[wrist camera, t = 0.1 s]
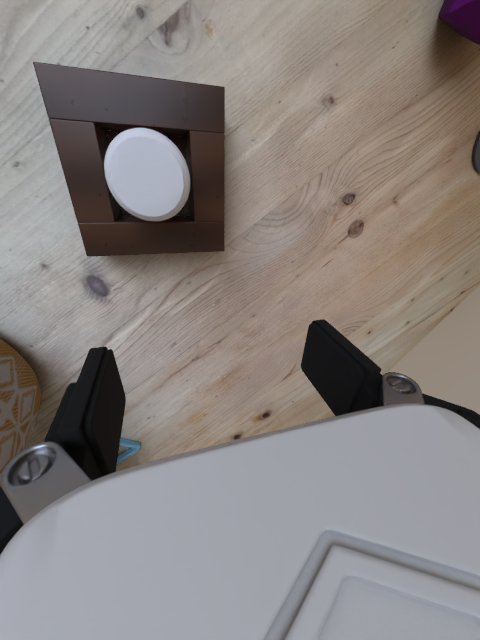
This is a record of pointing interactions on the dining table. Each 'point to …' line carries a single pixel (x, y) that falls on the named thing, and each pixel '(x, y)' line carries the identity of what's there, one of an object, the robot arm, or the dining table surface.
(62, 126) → the holder
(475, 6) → the perfume bottle
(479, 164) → the coaster
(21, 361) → the planter
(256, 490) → the robot arm
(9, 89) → the dining table surface
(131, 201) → the pill bottle
